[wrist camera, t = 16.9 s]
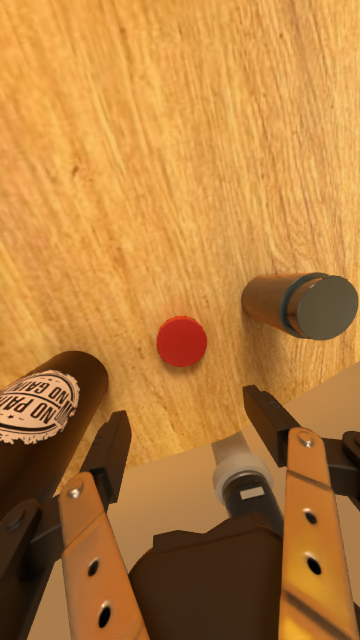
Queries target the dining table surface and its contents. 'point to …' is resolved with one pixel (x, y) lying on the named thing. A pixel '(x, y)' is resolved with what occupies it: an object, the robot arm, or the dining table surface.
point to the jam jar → (302, 303)
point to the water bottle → (45, 425)
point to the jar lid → (181, 341)
